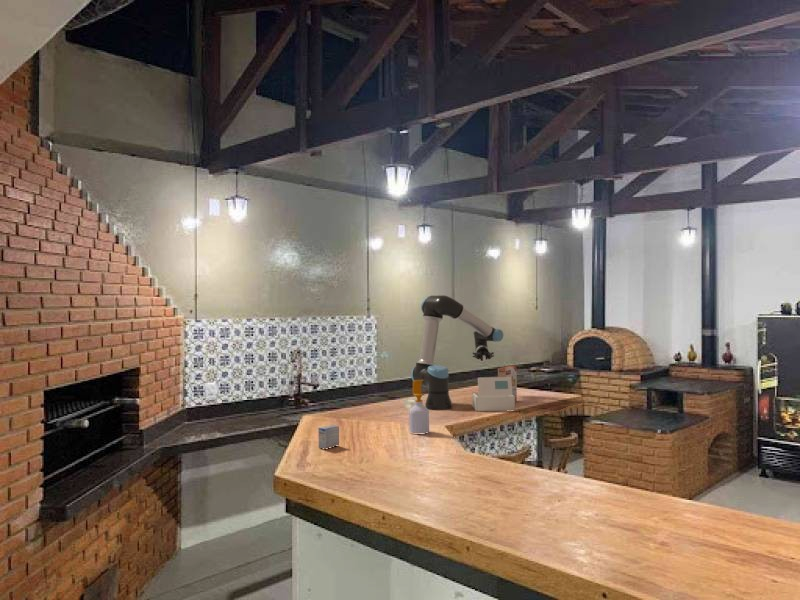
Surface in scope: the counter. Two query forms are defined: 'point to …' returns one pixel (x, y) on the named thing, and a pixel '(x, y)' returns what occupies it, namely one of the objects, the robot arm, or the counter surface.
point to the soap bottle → (418, 412)
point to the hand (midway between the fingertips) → (484, 359)
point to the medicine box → (328, 436)
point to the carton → (493, 402)
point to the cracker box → (510, 372)
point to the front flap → (495, 386)
